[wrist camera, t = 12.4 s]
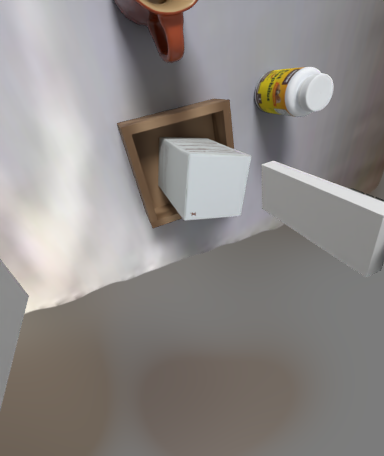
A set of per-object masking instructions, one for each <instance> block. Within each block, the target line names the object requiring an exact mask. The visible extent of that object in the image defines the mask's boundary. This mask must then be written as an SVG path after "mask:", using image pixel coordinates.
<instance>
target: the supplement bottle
mask: <svg viewBox="0 0 384 456" xmlns="http://www.w3.org/2000/svg"><path fill="white" fill-rule="evenodd" d="M332 93H333V81H332V79H331V77H330V76H329V75H327V74H321V72H320V71H319V70H318V69H316V68H314V67H303V68H292V69H282V70H273V71H269V72H267V73H265V74H264V75H263V76H262V77H261V78H260V80H259V81H258V83H257V86H256V90H255V101H256V104H257V106H258V107H259V109H261V110H262V111H264V112H267V113H273V114H280V115H287V116H294V117H304V116H307V115H309V114H310V113H312V112H317V111H320V110H322V109H323V108H324V107H325V106H326V105H327V104H328V103H329V101H330V99H331V97H332Z"/></svg>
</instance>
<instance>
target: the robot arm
mask: <svg viewBox="0 0 384 456" xmlns="http://www.w3.org/2000/svg"><path fill="white" fill-rule="evenodd" d="M261 166H262V209H263V210H265V211H266V212H268V213H269V214H271V215H272V216H274V217H275V218H277V219H278V220H280V221H281V222H283V223H284V224H286V225H287V226H289V227H290V228H292V229H293V230H295V231H297V232H298V233H299V234H301V235H303V236H304V237H305V238H307V239H308V240H310V241H311V242H313V243H314V244H316V245H318V246H319V247H320V248H322V249H324V250H325V251H327V252H328V253H330V254H331V255H333V256H334V257H336V258H337V259H339V260H340V261H342V262H343V263H345V264H346V265H348V266H349V267H351V268H352V269H354V270H355V271H357V272H358V273H360V274H361V275H363V276H364V277H368V276H370V275H372V274H374V273H376V272H378V271H380V270H381V269H382V266H383V262H384V200H382V199H379V198H377V197H376V198H374V197H373V196H371V195H369V194H364V193H363V192H360V191H358V190H355V189H352V188H346V187H343V186H340V185H337V184H335V183H332V182H329V181H327V180H324V179H321V178H319V177H316V176H313V175H311V174H308V173H305V172H303V171H300V170H297V169H295V168H292V167H289V166H287V165H284V164H281V163H279V162H276V161H271V162H268V163H265V164H261ZM28 297H29V296H28V294H27V293H26V292H25V290H24V289H23V288H22V286H21V285H20V284H19V283H18V281H17V280H16V279H15V277H14V276H13V275H12V273H11V272H10V271H9V270H8V268H7V267H6V266H5V264H4V263H3V262H2V260H1V259H0V409H1V405H2V401H3V397H4V393H5V389H6V385H7V381H8V377H9V373H10V369H11V365H12V361H13V357H14V353H15V349H16V345H17V341H18V337H19V333H20V329H21V325H22V321H23V317H24V313H25V309H26V305H27V301H28Z"/></svg>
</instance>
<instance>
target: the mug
mask: <svg viewBox="0 0 384 456" xmlns="http://www.w3.org/2000/svg"><path fill="white" fill-rule="evenodd" d="M197 1H198V0H114V2H115V4H116V5H117V7H118V8H119V10H120V11H121V12H122V13H123V14H124V15H125V17H126V18H128V19H129V20H131V21H133V22H134V23H136V24H139V25H143V26H148V29H149V32H150V34H151V36H152V38H153V40H154V42H155V45H156V48H157V50H158V53H159V55H160V57H161V58H162V59H163V61H165V62H167V63H173V62H177V61H179V60H180V59H181V58H182V57H183V54H184V36H183V22H184V19H183V12H184V11H186V10H189V9H190V8H192V7H193V6H194V5H195V4H196V2H197Z"/></svg>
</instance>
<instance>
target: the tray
mask: <svg viewBox="0 0 384 456" xmlns="http://www.w3.org/2000/svg"><path fill="white" fill-rule="evenodd" d="M117 125H118V128H119V131H120V134H121V137H122V141H123V144H124V147H125V150H126V153H127V156H128V159H129V162H130V165H131V168H132V171H133V174H134V177H135V180H136V183H137V186H138V190H139V193H140V196H141V199H142V202H143V205H144V208H145V211H146V214H147V216H148V219H149V221H150V223H151V225H152V228H155V227H158V226H161V225H164V224H167V223H170V222H173V221H176V220H179V219H182V217H181V216H180V214H179V213H178V212H177V210H176V209H175V208H174V206H173V205H172V203H171V202H170V201H169V199H168V198H167V197H166V195H165V194H164V193H163V191H162V190H161V188H160V187H159V186H158V172H159V137H183V138H208V139H210V140H213V141H215V142H217V143H220V144H222V145H225V146H227V147H230V148H232V149H234V143H233V132H232V121H231V111H230V100H224V99H211V100H207V101H203V102H199V103H195V104H191V105H187V106H183V107H179V108H175V109H171V110H167V111H163V112H159V113H155V114H151V115H147V116H143V117H140V118H136V119H132V120H128V121H124V122H120V123H117Z"/></svg>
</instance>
